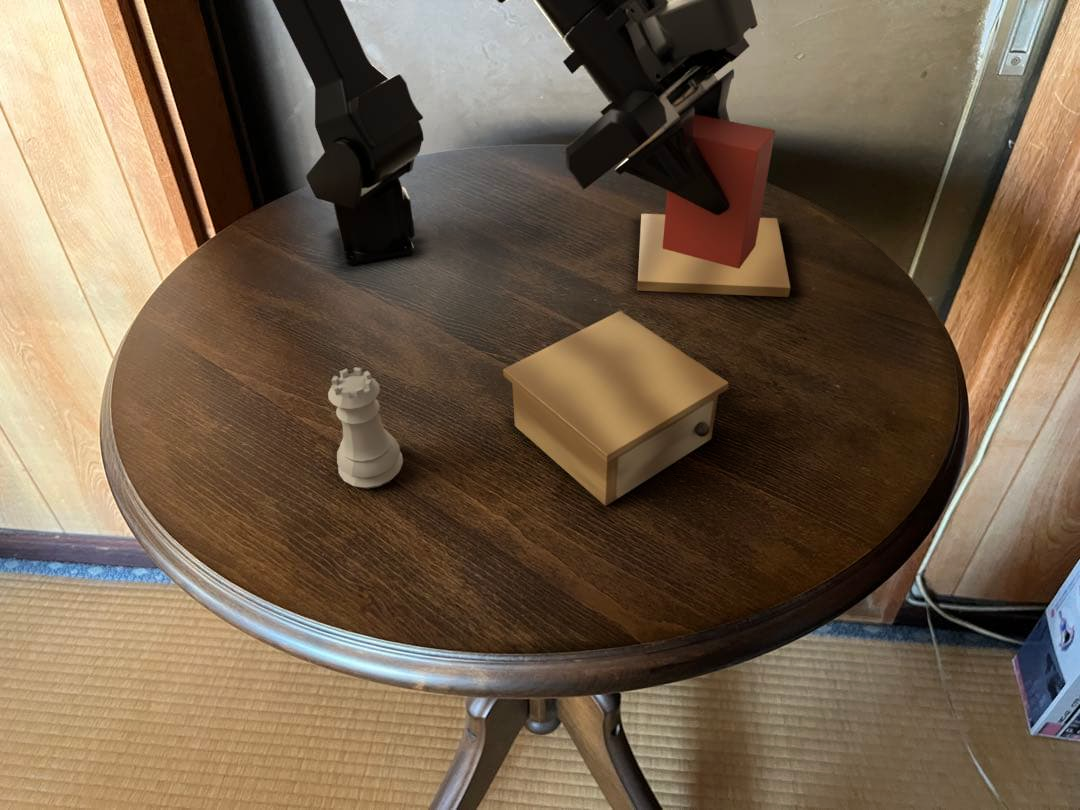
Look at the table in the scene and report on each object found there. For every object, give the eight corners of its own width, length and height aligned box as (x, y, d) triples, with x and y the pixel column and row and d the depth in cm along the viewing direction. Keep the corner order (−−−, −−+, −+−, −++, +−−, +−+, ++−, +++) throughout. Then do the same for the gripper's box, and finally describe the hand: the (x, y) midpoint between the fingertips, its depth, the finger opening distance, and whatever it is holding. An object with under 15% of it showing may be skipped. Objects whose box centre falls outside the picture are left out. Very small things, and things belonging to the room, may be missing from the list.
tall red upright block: (739, 269, 60) (758, 149, 54) (661, 248, 62) (672, 132, 56) (755, 246, 62) (775, 129, 56) (680, 227, 64) (691, 113, 58)
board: (637, 290, 73) (638, 281, 72) (640, 222, 82) (641, 213, 81) (788, 297, 72) (790, 287, 71) (775, 227, 81) (777, 218, 80)
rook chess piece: (384, 499, 55) (363, 410, 50) (326, 482, 57) (301, 394, 51) (415, 454, 59) (399, 366, 53) (360, 439, 60) (339, 351, 55)
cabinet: (612, 519, 54) (614, 462, 50) (506, 425, 61) (502, 369, 57) (727, 445, 59) (737, 387, 55) (617, 365, 65) (620, 310, 62)
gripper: (616, -39, 43) (787, 201, 46) (739, -108, 55) (868, 87, 58) (496, 86, 52) (648, 283, 55) (626, 3, 64) (744, 168, 67)
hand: (733, 199), depth 58 cm, fingers closed on tall red upright block, 3 cm apart
